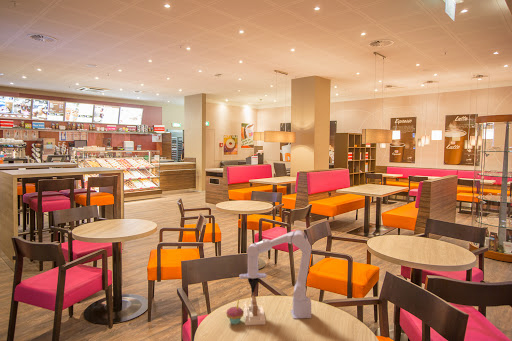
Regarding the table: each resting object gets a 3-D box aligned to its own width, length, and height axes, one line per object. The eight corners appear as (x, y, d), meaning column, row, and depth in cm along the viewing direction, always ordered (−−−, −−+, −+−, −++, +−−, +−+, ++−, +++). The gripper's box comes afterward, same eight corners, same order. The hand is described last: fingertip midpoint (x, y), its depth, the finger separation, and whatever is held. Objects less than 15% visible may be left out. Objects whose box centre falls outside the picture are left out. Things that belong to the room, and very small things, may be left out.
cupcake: (244, 317, 161) (244, 295, 160) (242, 327, 153) (242, 303, 152) (228, 316, 162) (227, 294, 161) (224, 326, 154) (224, 302, 153)
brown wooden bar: (255, 304, 167) (255, 295, 166) (257, 315, 156) (257, 306, 155) (251, 305, 166) (251, 295, 166) (252, 316, 155) (252, 306, 155)
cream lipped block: (262, 310, 168) (262, 302, 168) (265, 324, 155) (265, 314, 155) (243, 311, 167) (243, 302, 167) (245, 325, 154) (245, 315, 154)
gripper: (265, 263, 172) (265, 287, 173) (239, 264, 170) (239, 288, 171) (267, 268, 165) (267, 293, 166) (239, 269, 163) (239, 294, 164)
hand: (252, 291), depth 168 cm, fingers closed
